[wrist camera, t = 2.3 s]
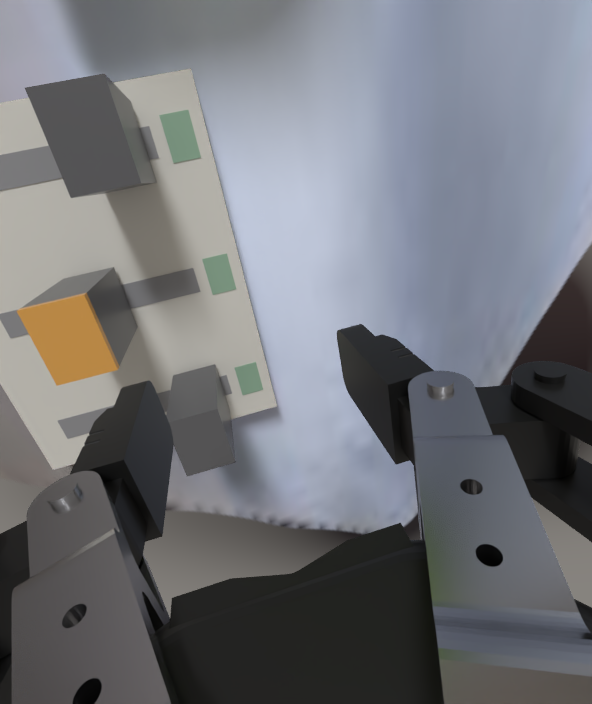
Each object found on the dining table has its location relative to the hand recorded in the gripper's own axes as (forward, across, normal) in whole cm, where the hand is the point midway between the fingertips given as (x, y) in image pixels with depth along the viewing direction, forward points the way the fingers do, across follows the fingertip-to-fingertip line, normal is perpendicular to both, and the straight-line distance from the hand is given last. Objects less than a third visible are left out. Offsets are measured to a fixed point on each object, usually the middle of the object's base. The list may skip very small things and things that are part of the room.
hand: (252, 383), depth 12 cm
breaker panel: (+17, +8, 0) cm, 19 cm away
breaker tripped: (+15, +8, 0) cm, 17 cm away
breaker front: (+15, +4, -8) cm, 18 cm away
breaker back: (+15, +4, +8) cm, 18 cm away
